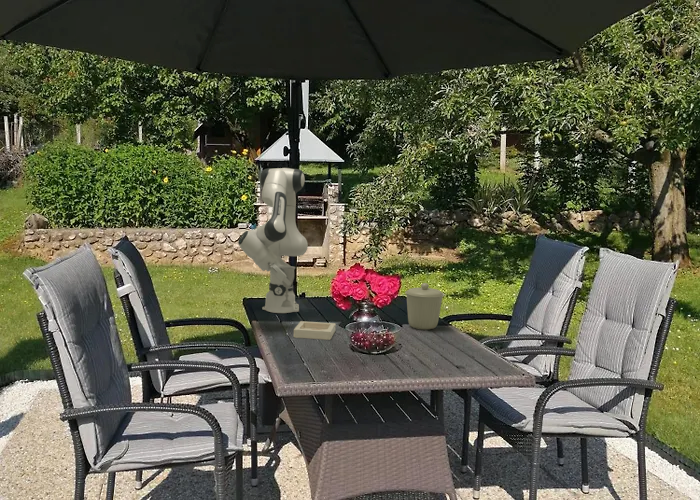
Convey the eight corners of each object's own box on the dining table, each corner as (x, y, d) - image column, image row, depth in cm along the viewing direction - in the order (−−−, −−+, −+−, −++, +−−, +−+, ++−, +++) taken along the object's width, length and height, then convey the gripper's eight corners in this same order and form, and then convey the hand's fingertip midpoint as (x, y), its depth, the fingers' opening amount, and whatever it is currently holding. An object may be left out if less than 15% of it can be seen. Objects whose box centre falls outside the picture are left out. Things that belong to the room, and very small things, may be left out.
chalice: (295, 305, 315) (296, 266, 312) (293, 308, 308) (294, 268, 306) (280, 304, 316) (281, 265, 313) (277, 307, 309) (278, 268, 306)
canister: (400, 329, 316) (402, 284, 313) (406, 321, 333) (408, 278, 331) (439, 333, 312) (442, 287, 309) (444, 324, 329) (446, 281, 326)
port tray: (300, 328, 311) (300, 321, 310) (335, 331, 309) (335, 323, 309) (293, 337, 295) (293, 329, 295) (330, 339, 293) (330, 331, 293)
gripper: (275, 260, 297) (297, 282, 301) (269, 253, 317) (290, 273, 320) (264, 270, 297) (286, 292, 300) (259, 262, 316) (280, 283, 320)
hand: (288, 282), depth 310 cm, fingers closed on chalice, 6 cm apart
